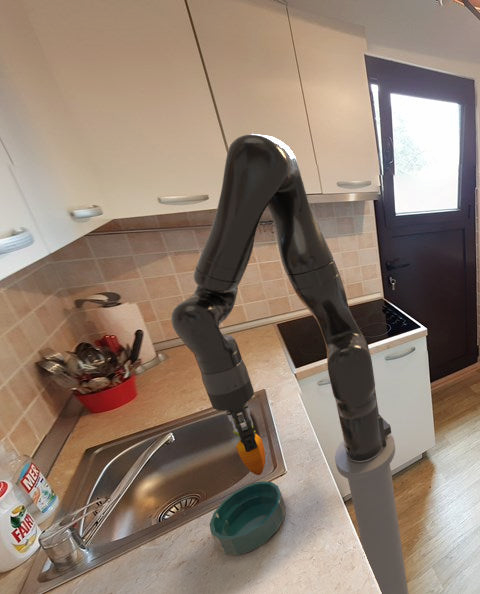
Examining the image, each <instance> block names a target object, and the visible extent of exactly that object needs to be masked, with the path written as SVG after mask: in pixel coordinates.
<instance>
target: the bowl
mask: <svg viewBox="0 0 480 594" xmlns="http://www.w3.org/2000/svg"><path fill="white" fill-rule="evenodd" d="M286 510H287V507H286V504H285V501H284V497H283V495H282V491H281V489H280V487H279V485H278V484H276V483H274V482H272V481H256V482H253V483H250V484H247V485H245V486H243V487H241V488H239V489H237V490H235V491H234V492H233V493H231V494H230V495H229V496H228V497H226V498H225V499H224V500H223V501H222V502H220V504H219V505H218V506H217V508H216V509H215V511H214V512H213V514H212V516H211V519H210V522H209V530H210V533H211V536H212V539H213V540H214V543H215V545H216V547H217V548H218V550H219V551H220V552H221V553H223V554H224V555H226V556H240V555H243V554H246V553H248V552H251V551H254V550H256V549H258V548H259V547H260V546H262V545H263V544H264V543H266V542H267V541H269V540H270V539H271V537H272V536H273V535H275V533H277V531H278V530H279V528H280V527H281V525H282V523H283V521H284V520H285V517H286V512H287V511H286Z"/></svg>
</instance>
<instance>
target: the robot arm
mask: <svg viewBox="0 0 480 594" xmlns="http://www.w3.org/2000/svg"><path fill="white" fill-rule="evenodd" d="M217 203H218V204H217V207H216V212H215V215H214V218H213V222H212V224H211V228H210V230H209V233H208V235H207V238H206V241H205V243H204V246H203V248H202V250H201V253H200V255H199V258H198V261H197V264H196V266H195V269H194V272H193V280H194V282H195V285H197V286H196V289H195V291H194V292H193V294H192V295H191V296H189V297H188V298H186V299H185V300H183V301H182V302H181V303H179V304H177V305H176V306H175V308H174V309H173V310H172V312H171V316H170V317H171V319H170V320H171V325H172V328H173V330H174V332H175V333H176V335H177V337H179V339H180V340H181V341H182V342H183V344H184V346H186V347H187V348H188V349H189V351H191V353H192V354H193V355H194V358H195V361H196V363H197V366H198V368H199V371H200V375H201V380H202V384H203V386H204V389H205V391H206V394H207V396H208V400H209V401H210V404H211V407H212V408H213V409H214V410H216V411H219V412H220V411H221V412H224V411H225V413H226V415H227V418H228V421H229V422H230V423H231V425H232V427H233V431H234V430H235V432H238V433H239V436H240V437H239V436H238V437H239V441H241V442H242V444H243V445H244V447H245V450H246V452H250V451H252V450H254V449H256V448H257V444H256V441H255V436H256V435H255V434H256V432H255V433H254V432H253V431H254V421H253V419H252V416H251V409H250V406H249V405H248V402H249V401H250V400H252V398H253V396H254V394H255V390H254V387H253V383H252V381H251V378H250V375H249V372H248V369H247V366H246V364H245V362H244V360H243V358H242V354H241V352H240V351H241V350H240V348H239V345H238V343H237V340H236V339H235V337H233V336H232V335H231V334H228V333H227V334H226V333H222V331H221V329H220V325H221V324H222V323H223V322H224V321H226V319H227V318H228V317H229V316H230V314H231V313H232V311H233V309H234V307H235V305H236V301H237V296H238V290H239V285H240V283H241V282H242V278H243V277H244V274H245V272H246V270H247V267H248V265H249V263H250V260H251V257H252V255H253V254H252V253H253V250H254V246H255V238H256V234H257V230H258V227H259V223H260V221H261V219H262V217H263V214H264V213H265V210H266V209H268V211H269V213H270V215H271V219H272V221H273V225H274V230H275V236H276V239H277V246H278V247H277V248H278V253H279V256H280V260H281V263H282V266H283V270H284V271H285V273H286V276H287V278H288V280H289V282H290V285H291V287H292V289H293V290H294V292H295V294H296V296H297V298H298V299H299V300H300V302H301V303H302V304H303V306H304V307H305V308H306V309H307V310H308V312H310V314H311V315H312V316H313V317H314V319H315V320H316V322H317V324H318V326H319V329H320V331H321V335H322V337H323V341H324V344H325V347H326V348H325V349H326V366H327V372H328V377H329V383H330V386H331V390H332V395H333V397H334V401H335V404H336V410H337V414H338V419H339V424H340V428H341V433H342V438H343V440H344V443H345V445H344V447H345V449H346V455H347V458H348V459H349V460H350V461H351V462H353V463H366V462H369V461H371V460H373V459H375V458H376V457H377V456H378V455H379V454H380V453H381V452H382V450H383V448H384V447H386V438H385V436H387V435H389V434H390V433H391V434H392V427H391V424H390V423H388V422H387V421H386V420H385V419H384V418H383V416H381V414H380V412H379V406H378V400H377V392H376V381H375V374H374V367H373V360H372V355H371V352H370V347H369V345H368V342H367V340H366V337H365V336H364V335H363V332H362V331H361V329H360V327H359V325H358V324H357V322H356V320H355V318H354V315H353V314H352V311H351V309H350V306H349V303H348V298H347V294H346V289H345V286H344V284H343V280H342V277H341V274H340V272H339V269H338V267H337V264H336V262H335V259H334V256H333V254H332V252H331V249H330V247H329V246H328V242H327V240H326V239H325V236H324V234H323V231H322V230H321V227H320V225H319V223H318V221H317V219H316V217H315V215H314V213H313V210H312V206H311V205H310V201H309V199H308V195H307V192H306V188H305V185H304V182H303V178H302V174H301V170H300V167H299V163H298V160H297V158H296V156H295V154H294V153H293V151H292V150H291V149H290V147H289V146H288V145H287V144H285V143H284V142H283V141H281V140H280V139H277V138H276V137H274V136H270V135H263V134H254V133H250V134H243V135H241V136H237V138H236V139H234V140H233V141H232V142H231V144H230V145H229V147H228V149H227V153H226V158H225V164H224V170H223V177H222V185H221V190H220V195H219V200H218V202H217ZM252 426H253V428H252ZM344 443H343V444H344Z"/></svg>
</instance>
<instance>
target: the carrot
mask: <svg viewBox="0 0 480 594" xmlns="http://www.w3.org/2000/svg"><path fill="white" fill-rule="evenodd" d="M252 428H253V429H254V425H253V426H252ZM253 432H254V433H255V435H256V436H255V441H256V444H257V448H256V449H254V450H252V451H250V452H246V450H245V447H244V445H243V444H242V442H241V441H240V440H239V441H238V442H237V444H236V445H235V449H236V451H237V453H238V456H239V458H240V460H241V461H242V463H243V464H244V466H245V467H246V469H248V471H249V472H250V473H252V474H254V475H255V476H261V475H262V474H263V472H264V469H265V465H266V451H265V446H264V442H263V439H262V438H261V437H260V436H259V434H258V433H256V430H253ZM232 433H233V434H235V435H236V436H238V437H239V438H240V436H239V433H238V432H235V430H234V429H233V431H232Z"/></svg>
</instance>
